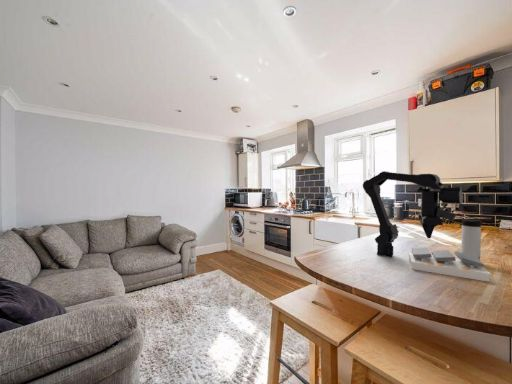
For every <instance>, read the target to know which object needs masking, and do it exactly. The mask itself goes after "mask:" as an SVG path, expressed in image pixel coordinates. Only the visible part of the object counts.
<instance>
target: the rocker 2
mask: <svg viewBox="0 0 512 384" xmlns="http://www.w3.org/2000/svg"><path fill="white" fill-rule="evenodd" d="M430 253H431V256H434V258H435V259H436V261H456V259H457V258H456V256H455V255H454V254H453V253H452V252H451V251H450V250H448V249H447V250H446V249H445V250H444V249H443V250H441V249H440V250H431V252H430Z"/></svg>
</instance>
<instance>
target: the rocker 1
mask: <svg viewBox="0 0 512 384" xmlns="http://www.w3.org/2000/svg"><path fill="white" fill-rule="evenodd" d="M410 250H411V253H413V256H414V258H427V257H432V256H433V255H432V252H430V251H429V248H428V247H416V248H415V247H413V248H410Z"/></svg>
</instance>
